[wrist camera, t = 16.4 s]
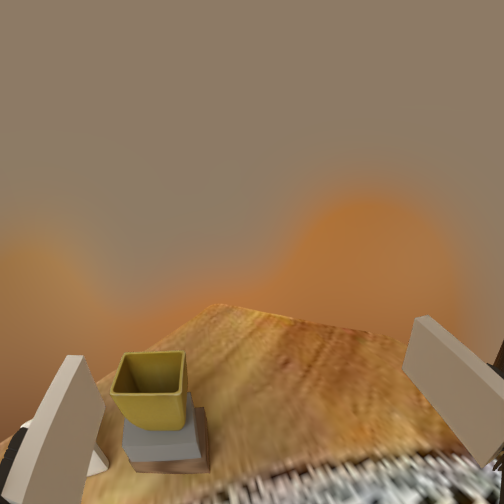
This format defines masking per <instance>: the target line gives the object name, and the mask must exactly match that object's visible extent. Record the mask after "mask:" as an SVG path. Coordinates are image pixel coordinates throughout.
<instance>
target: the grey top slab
mask: <svg viewBox="0 0 504 504" xmlns="http://www.w3.org/2000/svg"><path fill="white" fill-rule="evenodd" d="M122 447H123V449H124V451H125V452H126V454H127V455H128V457H129V459H130V460H131V462H150V461H171V460H184V459H194V458H201V452H200V445H199V438H198V431H197V424H196V417H195V409H194V405H193V401H192V397H191V393H190V392H187V402H186V422H185V425H184V426H183V428H182V429H181V430H179V431H148V430H144V429H141V428H139V427H137V426H135V425H134V424H132V423H131V422H129V421H128V420H127V419H126V418H125V421H124V431H123V441H122Z"/></svg>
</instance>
